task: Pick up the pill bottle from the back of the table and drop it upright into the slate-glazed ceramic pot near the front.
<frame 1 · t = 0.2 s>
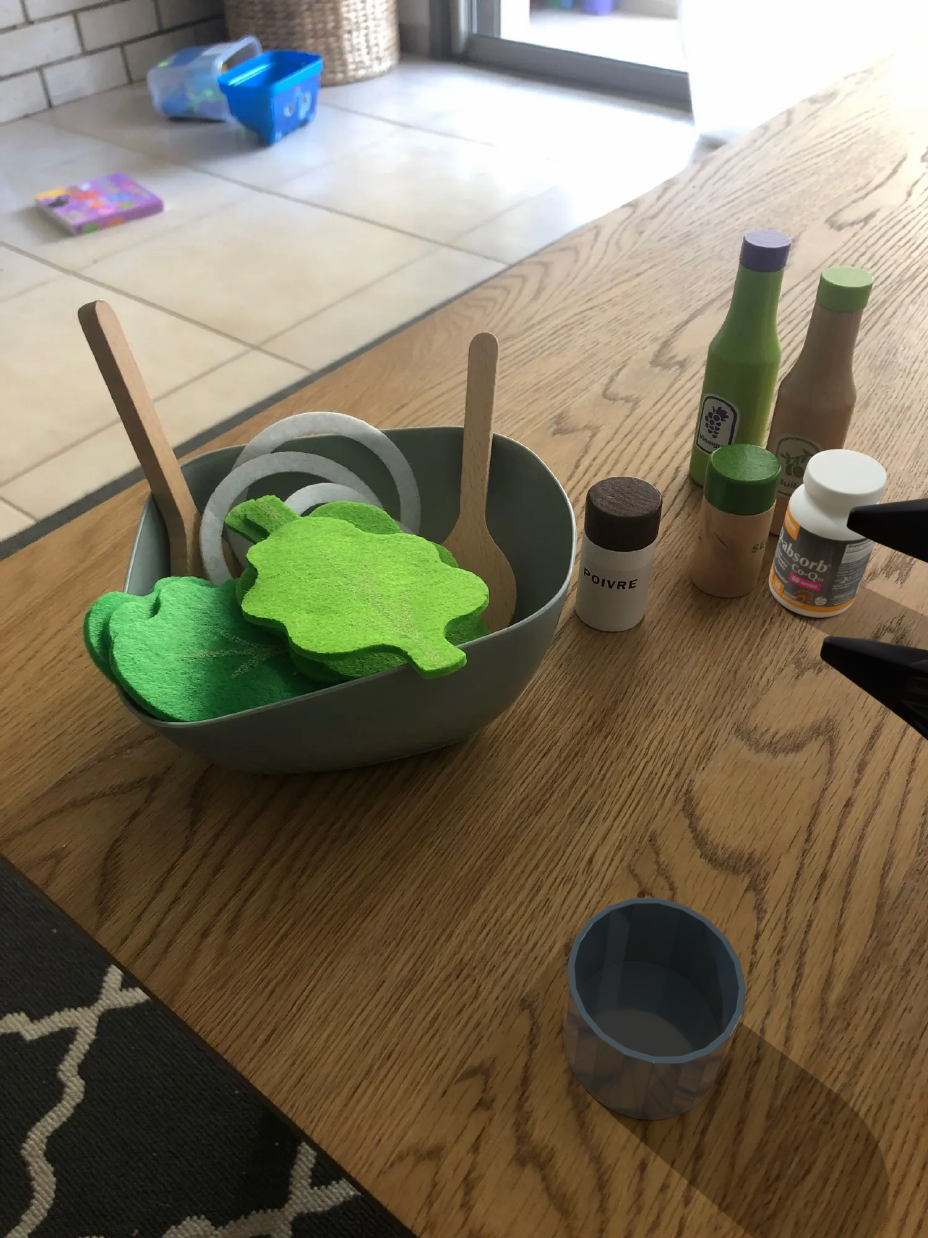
hand: (836, 577, 46), 15 cm above the table, tool horizontal, fingers open, 9 cm apart
pot: (641, 1037, 46), on the table
pill bottle: (810, 594, 68), on the table
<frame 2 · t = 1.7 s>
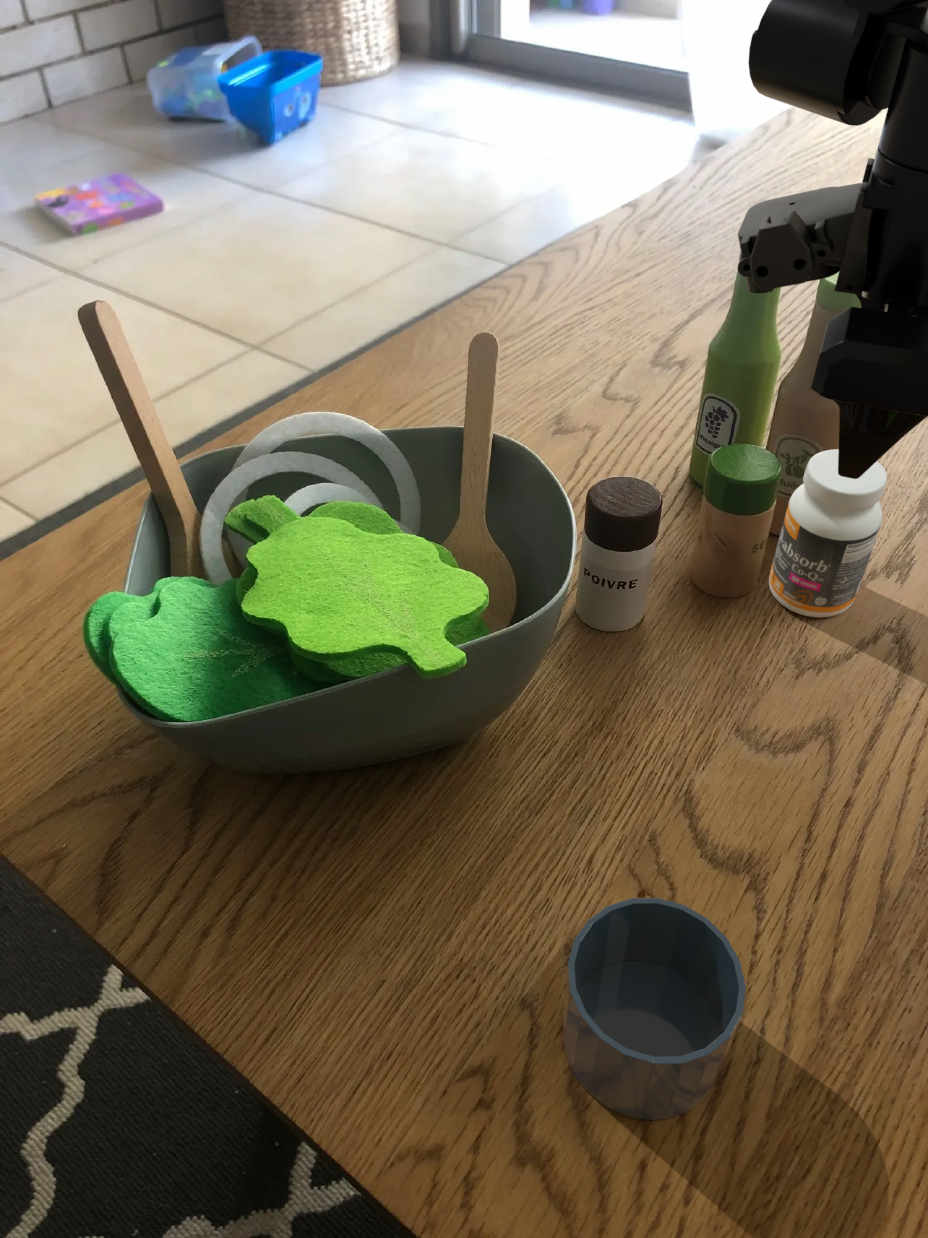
hand: (856, 431, 58), 13 cm above the table, tool pointing down, fingers open, 9 cm apart
nothing on the table moved.
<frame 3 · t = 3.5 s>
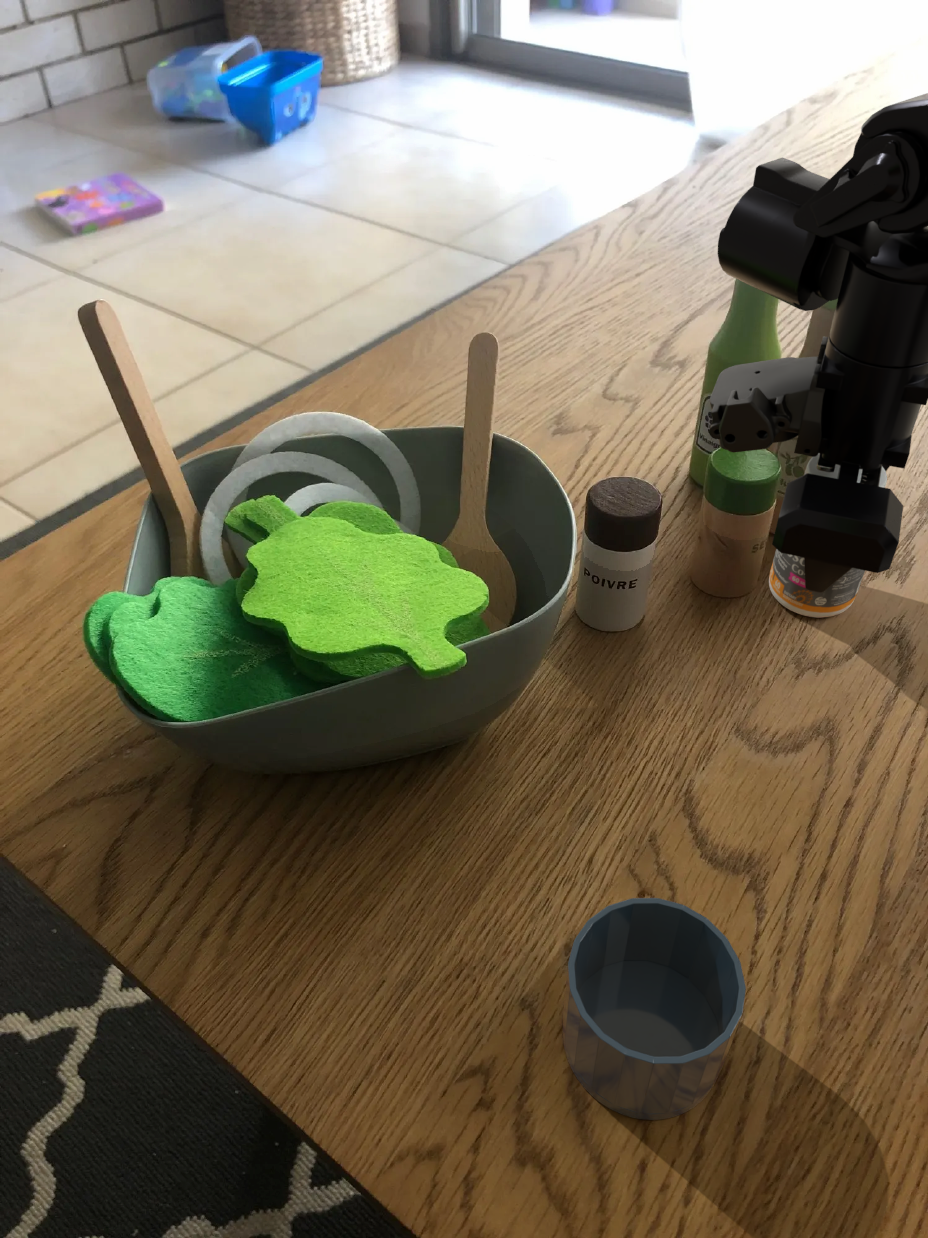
hand: (820, 559, 65), 3 cm above the table, tool pointing down, fingers closed on pill bottle, 6 cm apart
pill bottle: (810, 594, 68), on the table, touching gripper
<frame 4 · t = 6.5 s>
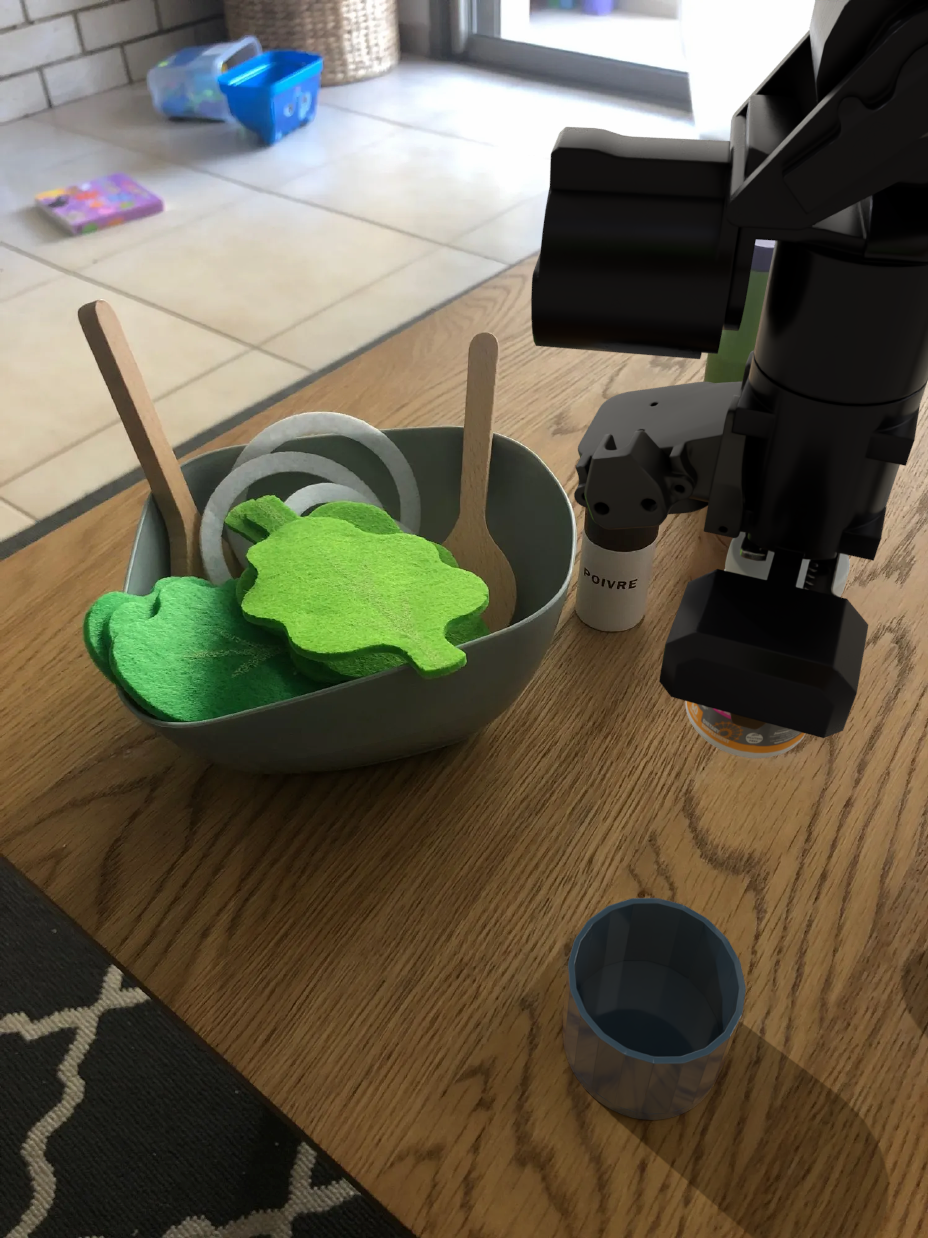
hand: (758, 675, 45), 13 cm above the table, tool pointing down, fingers closed on pill bottle, 6 cm apart
pill bottle: (745, 718, 47), point 10 cm above the table, touching gripper
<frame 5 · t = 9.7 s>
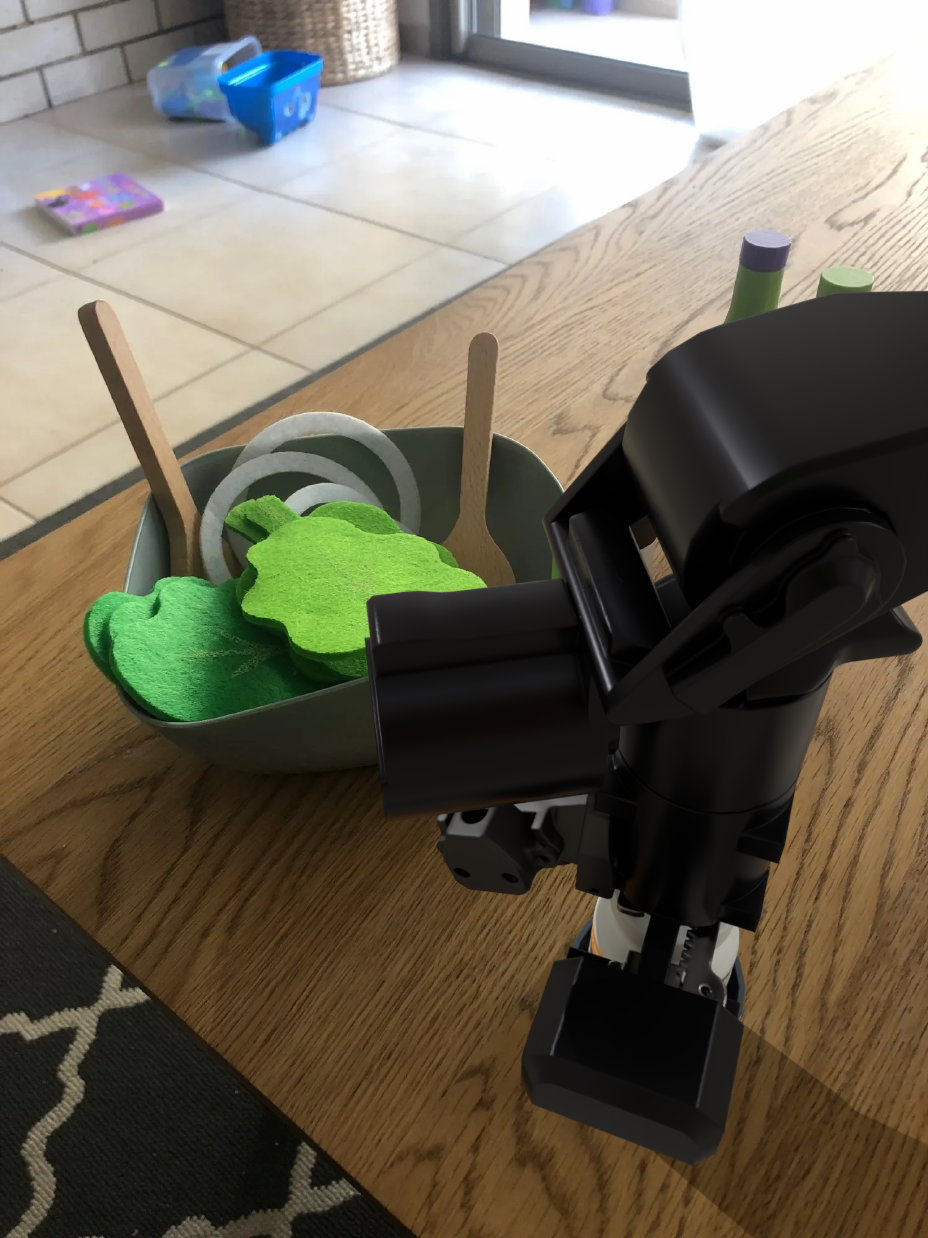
hand: (656, 976, 42), 6 cm above the table, tool pointing down, fingers closed on pill bottle, 6 cm apart
pill bottle: (647, 1008, 44), point 3 cm above the table, touching gripper
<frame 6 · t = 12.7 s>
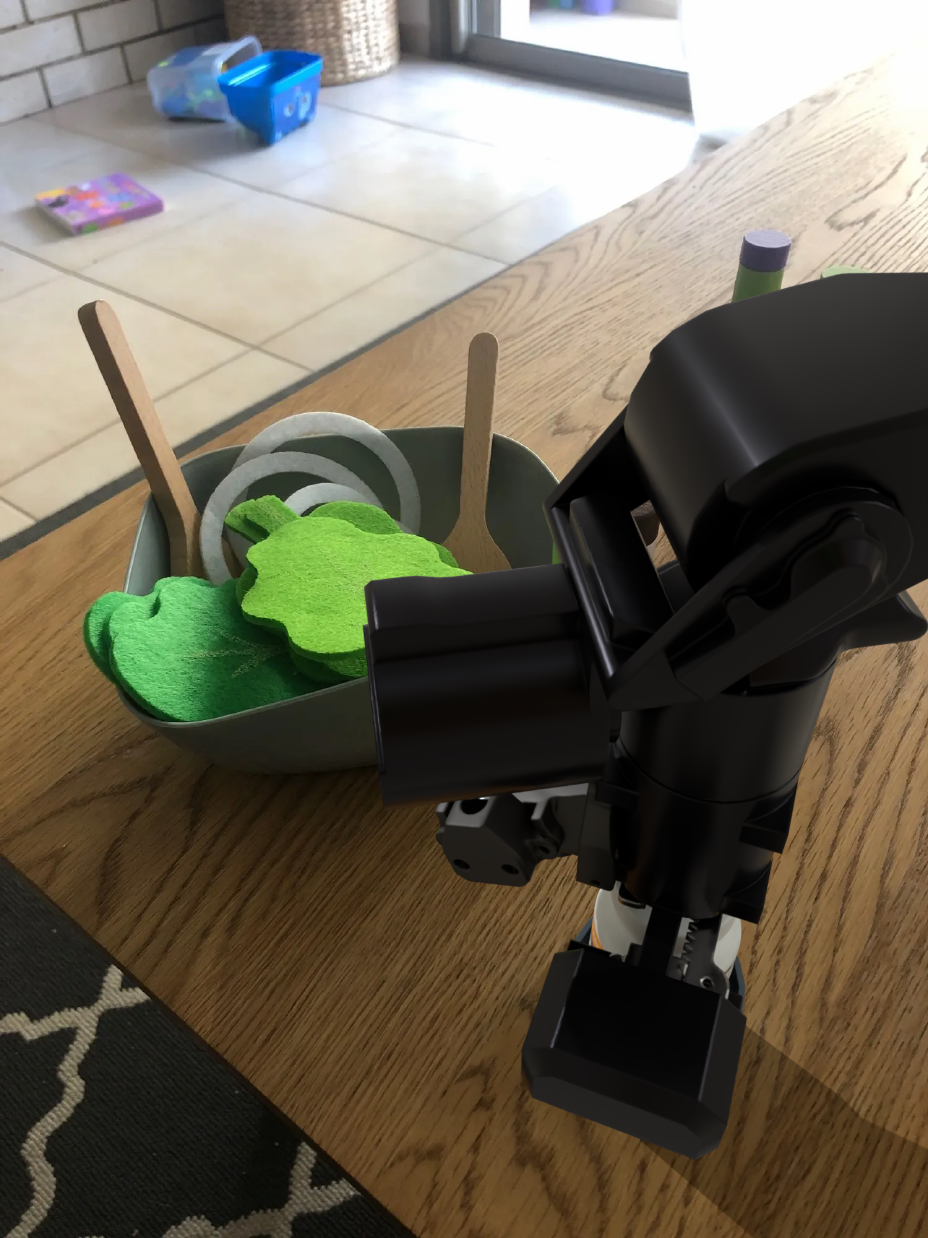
hand: (657, 970, 42), 6 cm above the table, tool pointing down, fingers closed on pill bottle, 6 cm apart
pill bottle: (648, 1002, 44), point 3 cm above the table, touching gripper
when the fingers open (7 cm above the table, at t = 15.6 s): pill bottle drops 3 cm, resting on pot.
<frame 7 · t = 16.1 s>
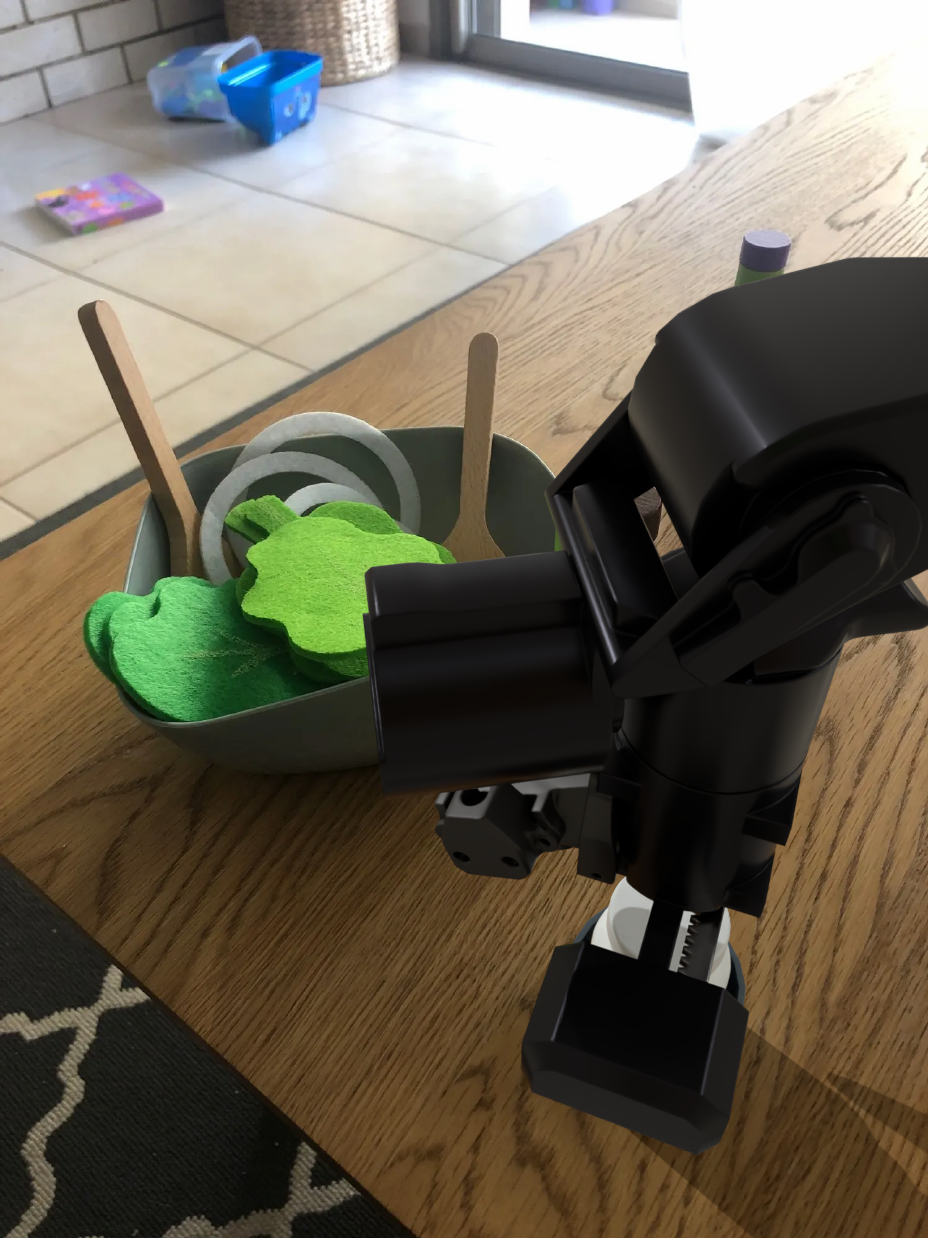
hand: (658, 965, 41), 7 cm above the table, tool pointing down, fingers open, 9 cm apart
pill bottle: (642, 1029, 46), point 1 cm above the table, touching pot
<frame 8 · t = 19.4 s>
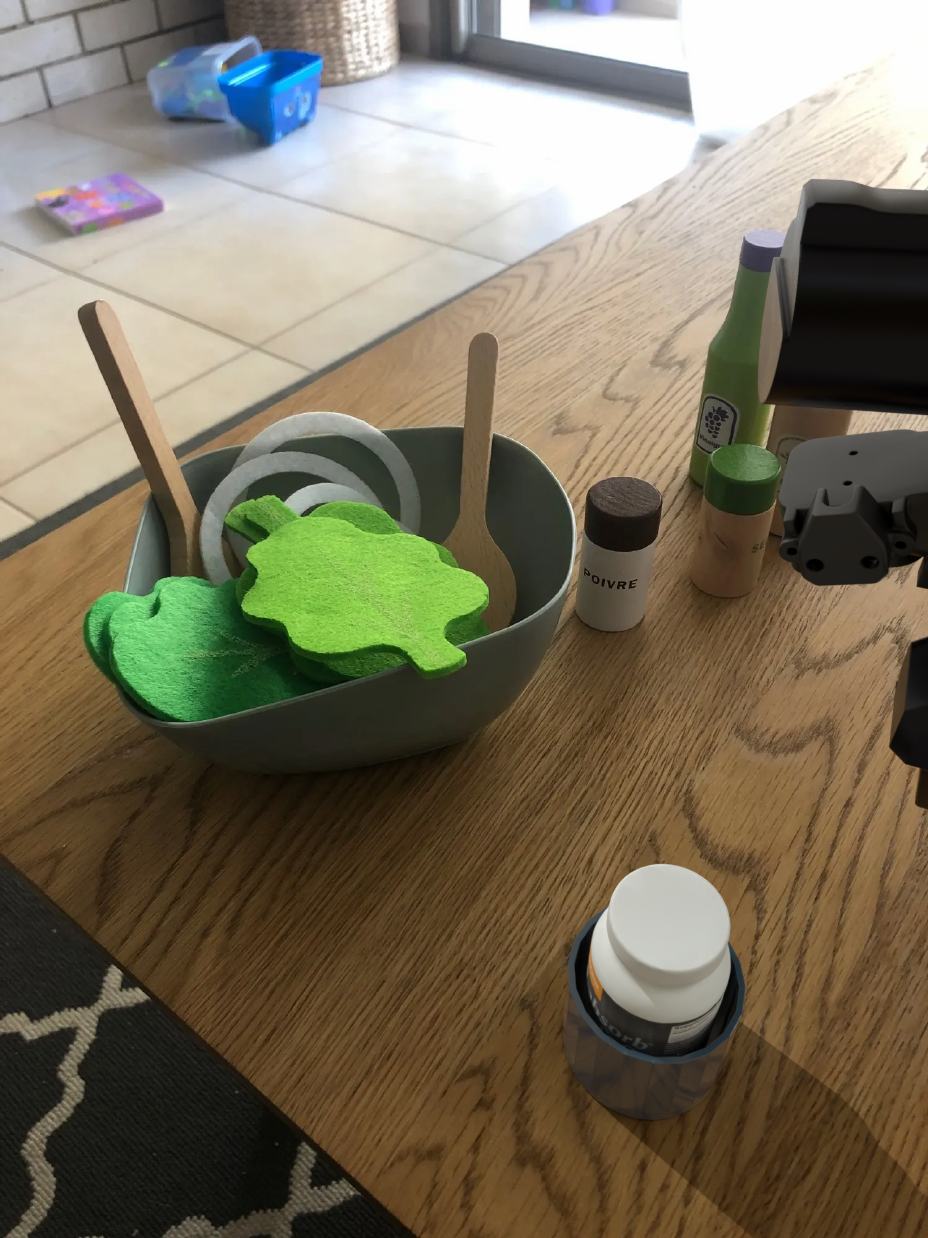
nothing on the table moved.
at the end: pill bottle 0.1 cm off-centre in the pot, point 0.6 cm above the pot's base; pill bottle tilted 0° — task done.
